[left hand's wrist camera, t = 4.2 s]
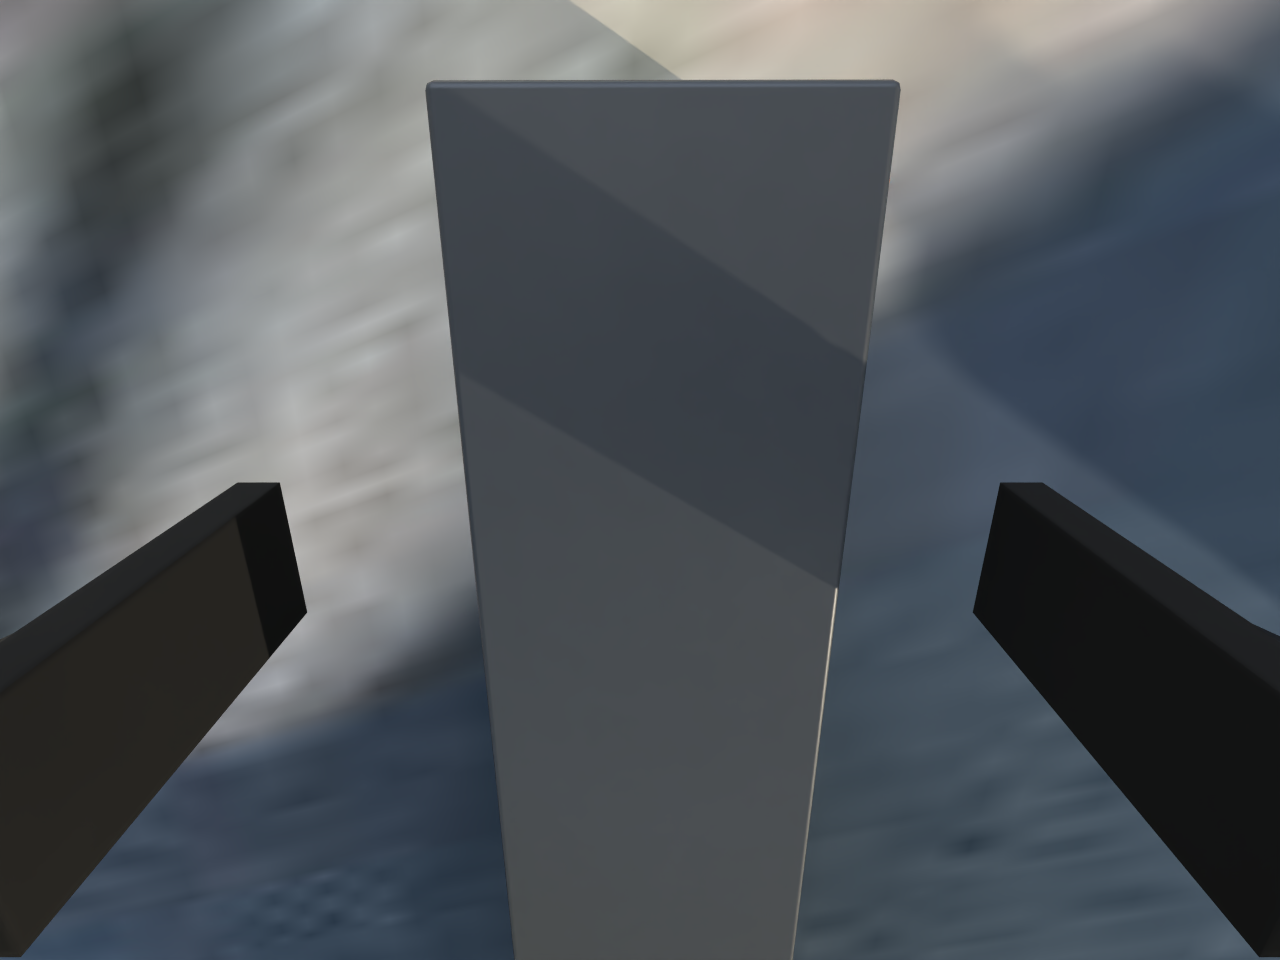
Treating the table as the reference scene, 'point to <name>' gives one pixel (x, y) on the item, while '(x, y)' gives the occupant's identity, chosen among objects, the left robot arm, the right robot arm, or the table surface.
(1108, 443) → the table surface
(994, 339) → the table surface
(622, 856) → the bar
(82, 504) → the table surface
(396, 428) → the table surface
